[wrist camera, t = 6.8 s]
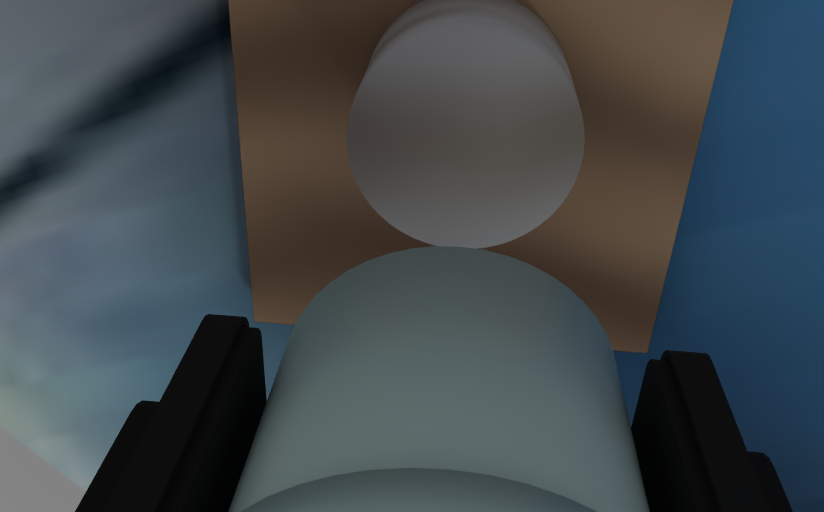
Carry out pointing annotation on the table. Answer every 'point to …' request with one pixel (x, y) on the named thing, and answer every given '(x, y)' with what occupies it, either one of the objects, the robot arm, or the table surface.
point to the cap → (444, 396)
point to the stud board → (570, 244)
